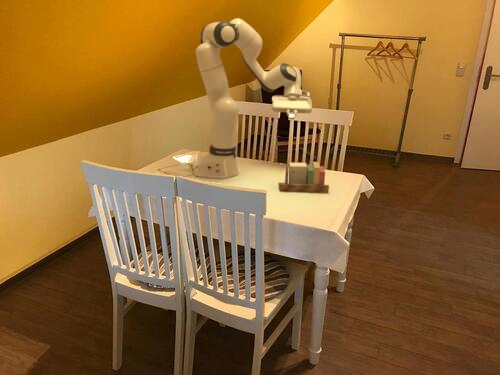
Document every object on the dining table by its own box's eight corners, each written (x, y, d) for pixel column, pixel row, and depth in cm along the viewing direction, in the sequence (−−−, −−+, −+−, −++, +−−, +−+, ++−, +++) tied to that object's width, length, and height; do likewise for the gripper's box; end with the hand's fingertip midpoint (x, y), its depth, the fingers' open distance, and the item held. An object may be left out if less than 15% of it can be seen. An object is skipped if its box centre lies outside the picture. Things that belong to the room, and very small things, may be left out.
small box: (305, 183, 203) (306, 162, 199) (306, 187, 198) (307, 166, 194) (288, 183, 203) (289, 162, 200) (288, 187, 198) (289, 165, 194)
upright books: (307, 191, 194) (308, 167, 189) (305, 184, 201) (307, 161, 197) (323, 191, 193) (325, 167, 189) (321, 185, 201) (323, 162, 197)
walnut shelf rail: (279, 191, 193) (280, 184, 192) (279, 190, 194) (280, 183, 193) (328, 193, 192) (329, 186, 190) (328, 192, 193) (328, 184, 192)
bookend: (278, 190, 194) (279, 171, 191) (278, 183, 202) (279, 165, 199) (287, 190, 194) (288, 172, 191) (287, 184, 202) (287, 166, 199)
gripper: (272, 91, 214) (270, 113, 209) (312, 93, 213) (312, 116, 208) (272, 98, 220) (270, 121, 214) (311, 100, 219) (311, 123, 213)
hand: (291, 118), depth 211 cm, fingers closed
